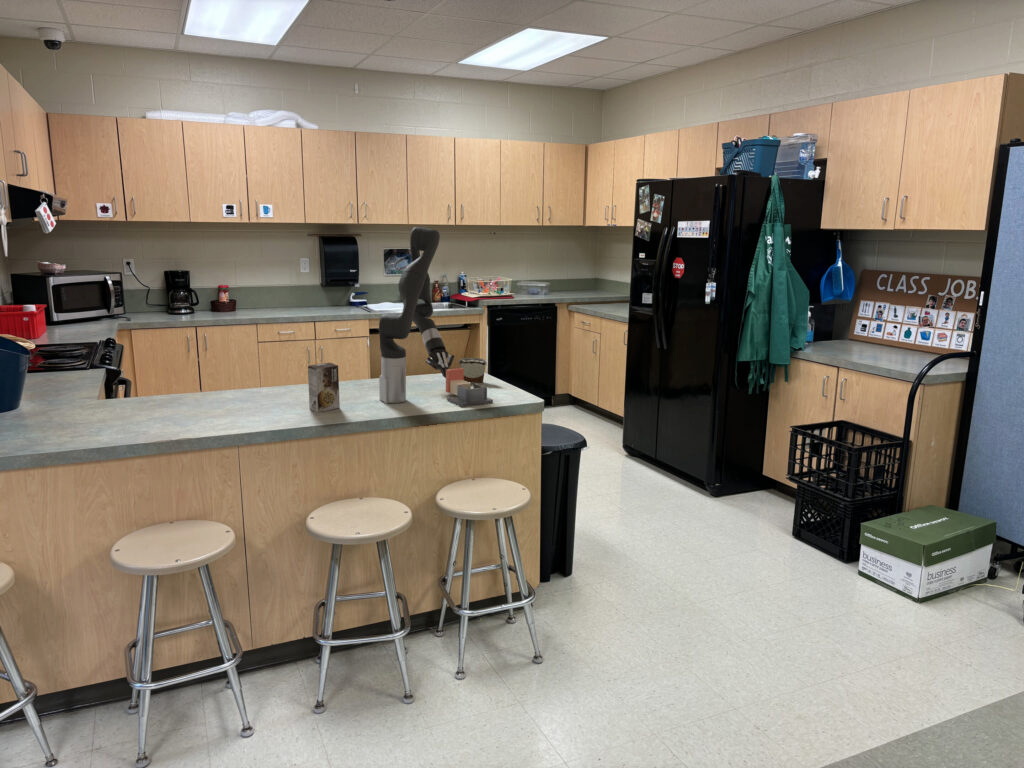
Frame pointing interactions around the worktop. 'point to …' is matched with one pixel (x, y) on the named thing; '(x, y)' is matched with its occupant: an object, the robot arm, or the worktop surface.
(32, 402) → the worktop surface
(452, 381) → the red plug
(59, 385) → the worktop surface
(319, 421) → the worktop surface
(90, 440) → the worktop surface
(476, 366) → the food container
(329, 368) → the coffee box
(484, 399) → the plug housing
